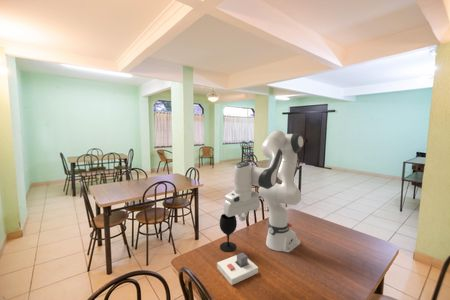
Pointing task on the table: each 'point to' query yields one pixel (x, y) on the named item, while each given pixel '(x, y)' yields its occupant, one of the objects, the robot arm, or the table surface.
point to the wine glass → (228, 231)
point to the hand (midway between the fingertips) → (242, 220)
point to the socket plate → (236, 270)
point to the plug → (242, 260)
